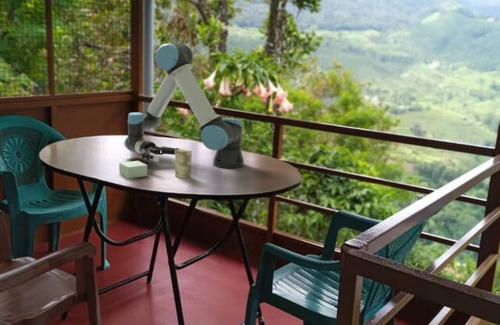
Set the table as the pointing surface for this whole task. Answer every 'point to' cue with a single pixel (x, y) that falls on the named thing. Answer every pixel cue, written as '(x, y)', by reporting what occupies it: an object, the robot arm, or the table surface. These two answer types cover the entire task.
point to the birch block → (183, 163)
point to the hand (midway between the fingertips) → (170, 156)
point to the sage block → (133, 169)
